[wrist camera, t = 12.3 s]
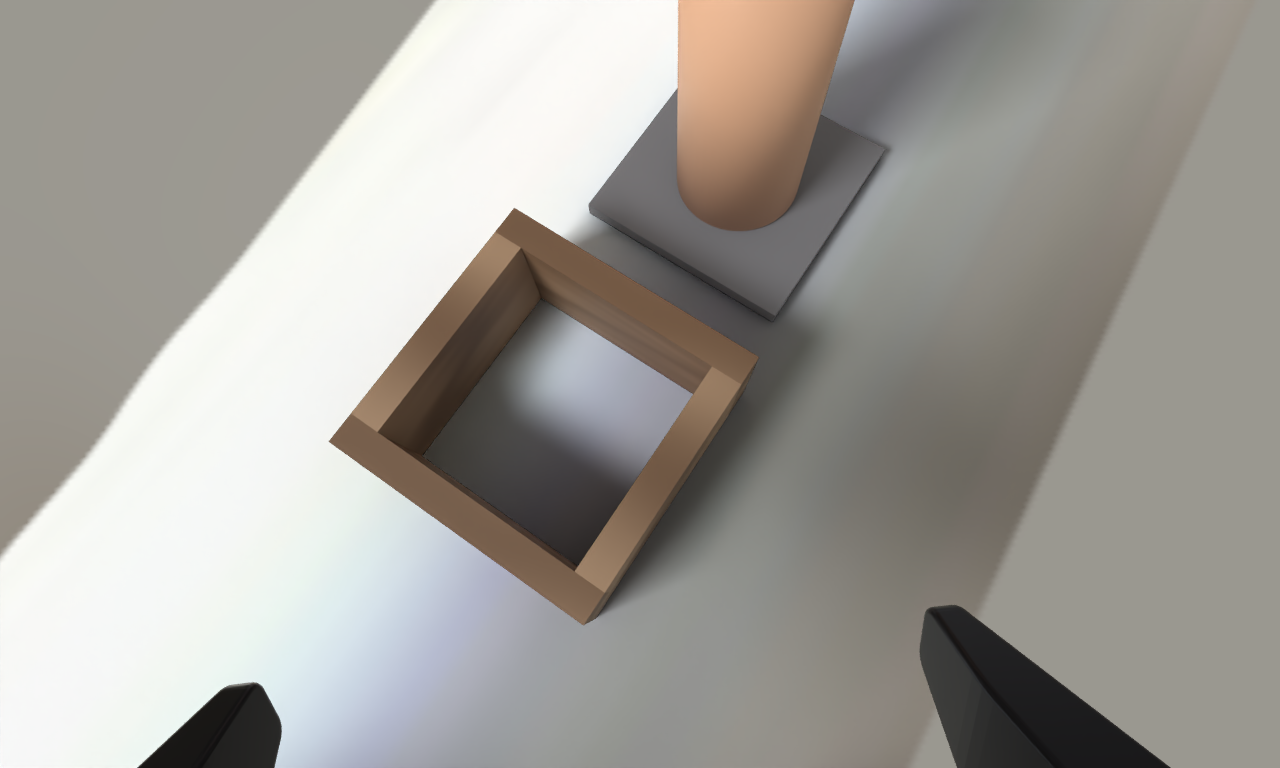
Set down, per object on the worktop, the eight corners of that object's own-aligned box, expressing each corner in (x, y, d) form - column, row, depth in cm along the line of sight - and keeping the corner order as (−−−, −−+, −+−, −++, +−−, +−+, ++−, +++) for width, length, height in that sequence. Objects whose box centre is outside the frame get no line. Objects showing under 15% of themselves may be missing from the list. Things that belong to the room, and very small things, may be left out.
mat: (772, 322, 25) (775, 316, 25) (589, 212, 27) (588, 204, 26) (880, 158, 27) (885, 149, 26) (703, 63, 28) (704, 52, 28)
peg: (799, 233, 25) (919, -124, 13) (673, 229, 26) (674, -125, 13) (798, 127, 27) (908, -289, 14) (680, 124, 27) (685, -286, 15)
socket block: (596, 618, 23) (583, 625, 19) (380, 464, 24) (328, 441, 20) (743, 392, 25) (759, 357, 21) (535, 263, 26) (514, 207, 22)
